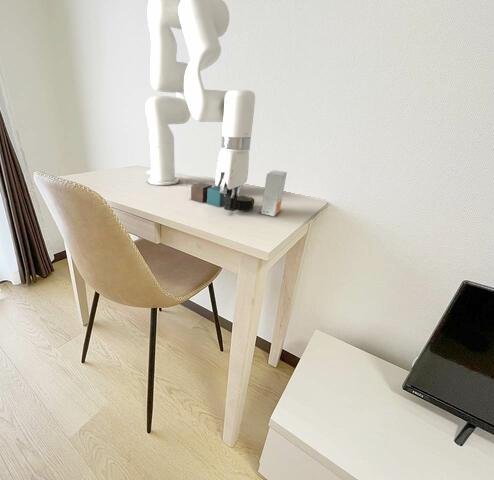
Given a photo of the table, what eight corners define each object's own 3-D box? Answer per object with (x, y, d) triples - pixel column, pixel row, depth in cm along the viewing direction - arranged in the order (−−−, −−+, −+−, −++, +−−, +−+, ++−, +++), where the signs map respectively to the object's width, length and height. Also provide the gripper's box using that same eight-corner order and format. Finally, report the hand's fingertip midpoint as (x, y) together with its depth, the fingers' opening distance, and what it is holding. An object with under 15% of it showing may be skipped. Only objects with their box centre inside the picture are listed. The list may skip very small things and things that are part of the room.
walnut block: (191, 199, 88) (191, 185, 86) (200, 196, 92) (200, 182, 89) (202, 202, 85) (203, 187, 83) (211, 199, 89) (212, 184, 86)
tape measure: (245, 204, 84) (247, 193, 82) (257, 212, 78) (259, 200, 77) (227, 207, 82) (228, 195, 80) (237, 214, 76) (238, 202, 75)
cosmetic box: (274, 216, 75) (281, 175, 70) (260, 213, 77) (266, 173, 72) (280, 210, 80) (287, 171, 74) (266, 208, 82) (272, 169, 76)
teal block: (206, 203, 85) (207, 188, 82) (215, 199, 88) (216, 185, 86) (219, 206, 82) (220, 191, 80) (228, 203, 85) (229, 188, 83)
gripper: (238, 140, 75) (233, 201, 84) (207, 145, 65) (204, 213, 73) (261, 143, 71) (253, 206, 79) (232, 148, 61) (226, 220, 69)
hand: (230, 209), depth 76 cm, fingers closed
